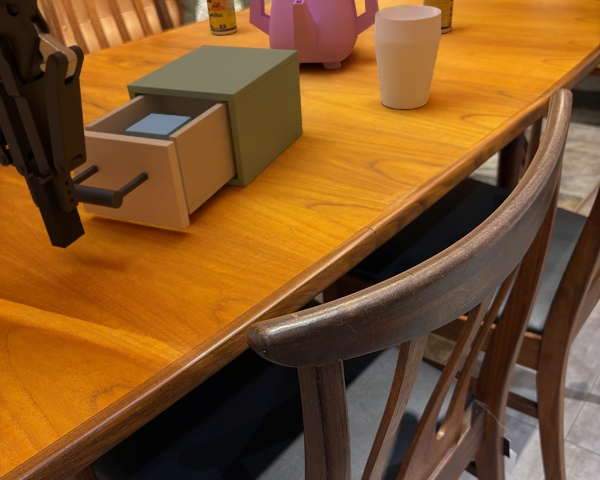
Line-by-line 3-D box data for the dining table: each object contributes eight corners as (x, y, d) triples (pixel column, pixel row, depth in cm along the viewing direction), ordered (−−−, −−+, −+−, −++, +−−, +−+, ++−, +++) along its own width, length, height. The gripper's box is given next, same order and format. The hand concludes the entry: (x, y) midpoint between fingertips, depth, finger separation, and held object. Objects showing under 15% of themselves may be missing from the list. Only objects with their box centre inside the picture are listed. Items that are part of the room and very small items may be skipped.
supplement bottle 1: (205, 34, 128) (197, -21, 122) (223, 27, 132) (216, -26, 126) (224, 36, 125) (217, -19, 119) (242, 30, 129) (236, -24, 123)
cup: (391, 88, 94) (394, 2, 87) (446, 96, 89) (454, 7, 82) (361, 107, 88) (361, 17, 81) (418, 116, 84) (423, 23, 76)
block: (138, 187, 67) (124, 130, 63) (163, 168, 70) (151, 113, 66) (177, 193, 65) (166, 134, 61) (201, 173, 69) (191, 116, 65)
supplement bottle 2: (453, 33, 117) (458, -27, 111) (423, 35, 117) (427, -25, 111) (448, 26, 121) (453, -32, 115) (419, 28, 122) (422, -30, 115)
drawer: (150, 260, 57) (128, 173, 51) (47, 239, 61) (17, 156, 56) (254, 166, 72) (245, 91, 67) (166, 154, 76) (151, 83, 71)
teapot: (325, 39, 119) (322, -49, 110) (390, 57, 107) (393, -41, 97) (242, 62, 110) (231, -32, 101) (302, 84, 98) (295, -21, 89)
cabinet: (245, 187, 70) (233, 94, 63) (146, 172, 74) (126, 85, 68) (302, 133, 82) (297, 50, 75) (214, 123, 86) (203, 44, 80)
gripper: (80, -72, 41) (152, 230, 55) (-56, -68, 46) (43, 210, 60) (-4, -56, 36) (99, 275, 50) (-148, -53, 41) (-16, 248, 55)
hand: (68, 239), depth 55 cm, fingers closed
